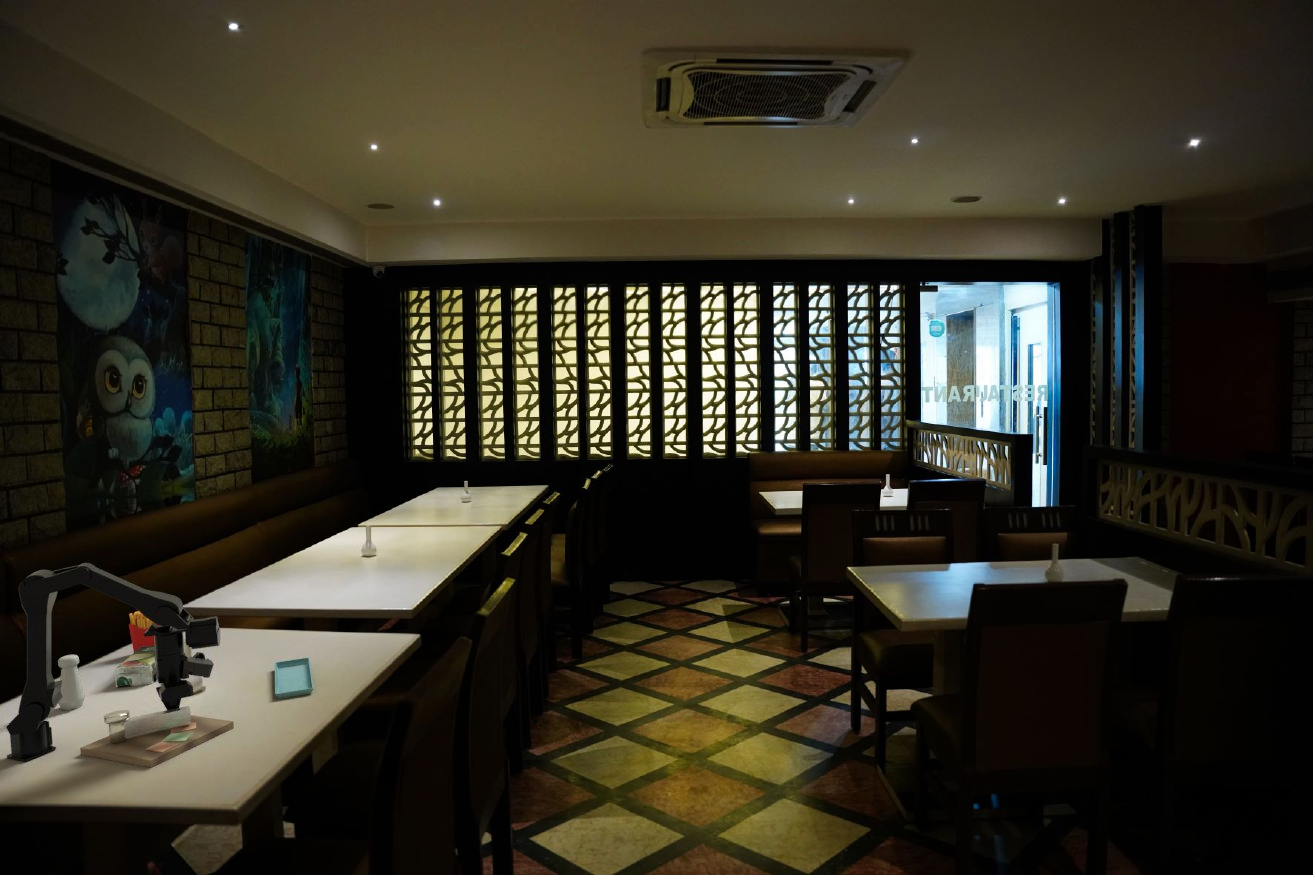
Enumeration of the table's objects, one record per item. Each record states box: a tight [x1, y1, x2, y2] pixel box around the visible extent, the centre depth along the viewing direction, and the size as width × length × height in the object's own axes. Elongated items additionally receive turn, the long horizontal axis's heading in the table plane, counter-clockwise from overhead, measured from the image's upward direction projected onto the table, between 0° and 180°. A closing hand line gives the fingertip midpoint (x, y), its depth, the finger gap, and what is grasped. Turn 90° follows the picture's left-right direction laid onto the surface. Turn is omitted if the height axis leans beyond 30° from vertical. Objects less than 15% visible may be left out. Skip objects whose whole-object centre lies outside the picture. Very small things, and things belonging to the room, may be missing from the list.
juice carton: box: [113, 645, 156, 688], centre depth 232 cm, size 20×10×6 cm, turn 13°
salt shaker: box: [57, 654, 86, 711], centre depth 209 cm, size 6×6×13 cm
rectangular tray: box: [274, 657, 315, 700], centre depth 224 cm, size 26×9×2 cm, turn 25°
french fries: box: [128, 610, 160, 653], centre depth 252 cm, size 9×4×13 cm, turn 105°
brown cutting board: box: [79, 714, 235, 768], centre depth 187 cm, size 21×21×2 cm
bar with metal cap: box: [103, 705, 192, 743], centre depth 187 cm, size 16×5×6 cm, turn 125°
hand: (174, 717), depth 192 cm, fingers closed
